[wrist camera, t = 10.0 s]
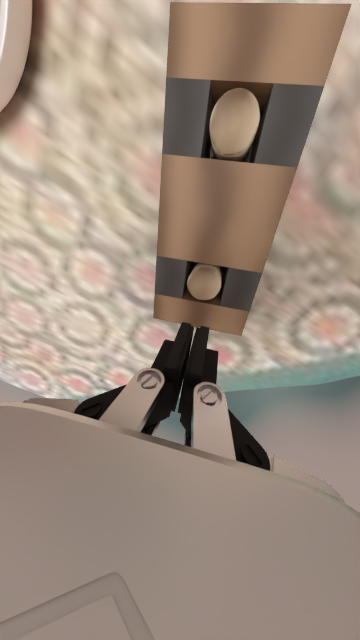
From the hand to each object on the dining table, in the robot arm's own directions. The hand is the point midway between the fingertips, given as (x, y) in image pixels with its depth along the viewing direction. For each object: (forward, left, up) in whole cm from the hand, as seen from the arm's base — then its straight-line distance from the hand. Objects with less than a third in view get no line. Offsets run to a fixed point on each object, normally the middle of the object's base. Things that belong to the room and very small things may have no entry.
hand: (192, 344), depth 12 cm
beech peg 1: (0, 0, -21) cm, 21 cm away
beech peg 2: (0, -14, -21) cm, 25 cm away
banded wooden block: (0, -7, -21) cm, 22 cm away
